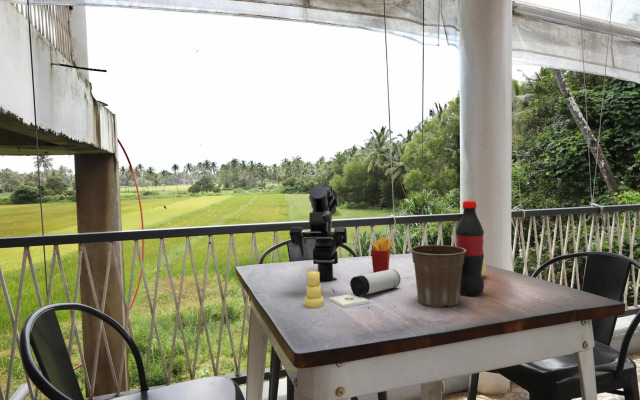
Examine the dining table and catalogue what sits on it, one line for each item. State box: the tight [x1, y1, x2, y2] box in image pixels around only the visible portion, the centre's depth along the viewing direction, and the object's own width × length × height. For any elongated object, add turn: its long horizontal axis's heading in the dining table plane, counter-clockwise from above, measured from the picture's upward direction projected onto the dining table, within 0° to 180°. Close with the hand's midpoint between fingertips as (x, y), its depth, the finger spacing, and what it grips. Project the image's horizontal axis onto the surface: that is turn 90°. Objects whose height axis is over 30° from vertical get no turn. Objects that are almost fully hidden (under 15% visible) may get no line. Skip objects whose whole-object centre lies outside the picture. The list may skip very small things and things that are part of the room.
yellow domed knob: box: [304, 270, 324, 309], centre depth 126 cm, size 6×6×10 cm
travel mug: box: [349, 268, 401, 297], centre depth 138 cm, size 6×7×20 cm
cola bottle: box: [455, 200, 485, 297], centre depth 134 cm, size 8×8×30 cm
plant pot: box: [410, 244, 466, 308], centre depth 126 cm, size 16×16×16 cm
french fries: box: [370, 236, 394, 273], centre depth 166 cm, size 9×8×15 cm
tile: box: [328, 293, 370, 308], centre depth 129 cm, size 9×9×1 cm
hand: (316, 256), depth 133 cm, fingers open, 9 cm apart
